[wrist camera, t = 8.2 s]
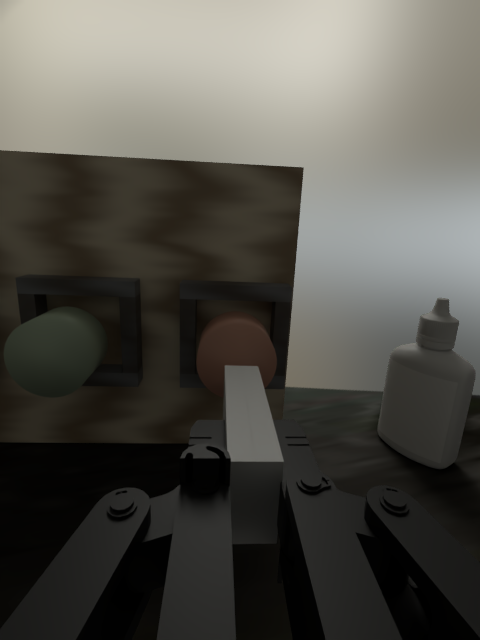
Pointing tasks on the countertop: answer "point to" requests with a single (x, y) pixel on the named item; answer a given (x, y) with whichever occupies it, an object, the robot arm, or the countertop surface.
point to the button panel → (141, 282)
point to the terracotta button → (234, 349)
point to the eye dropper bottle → (427, 393)
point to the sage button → (55, 351)
